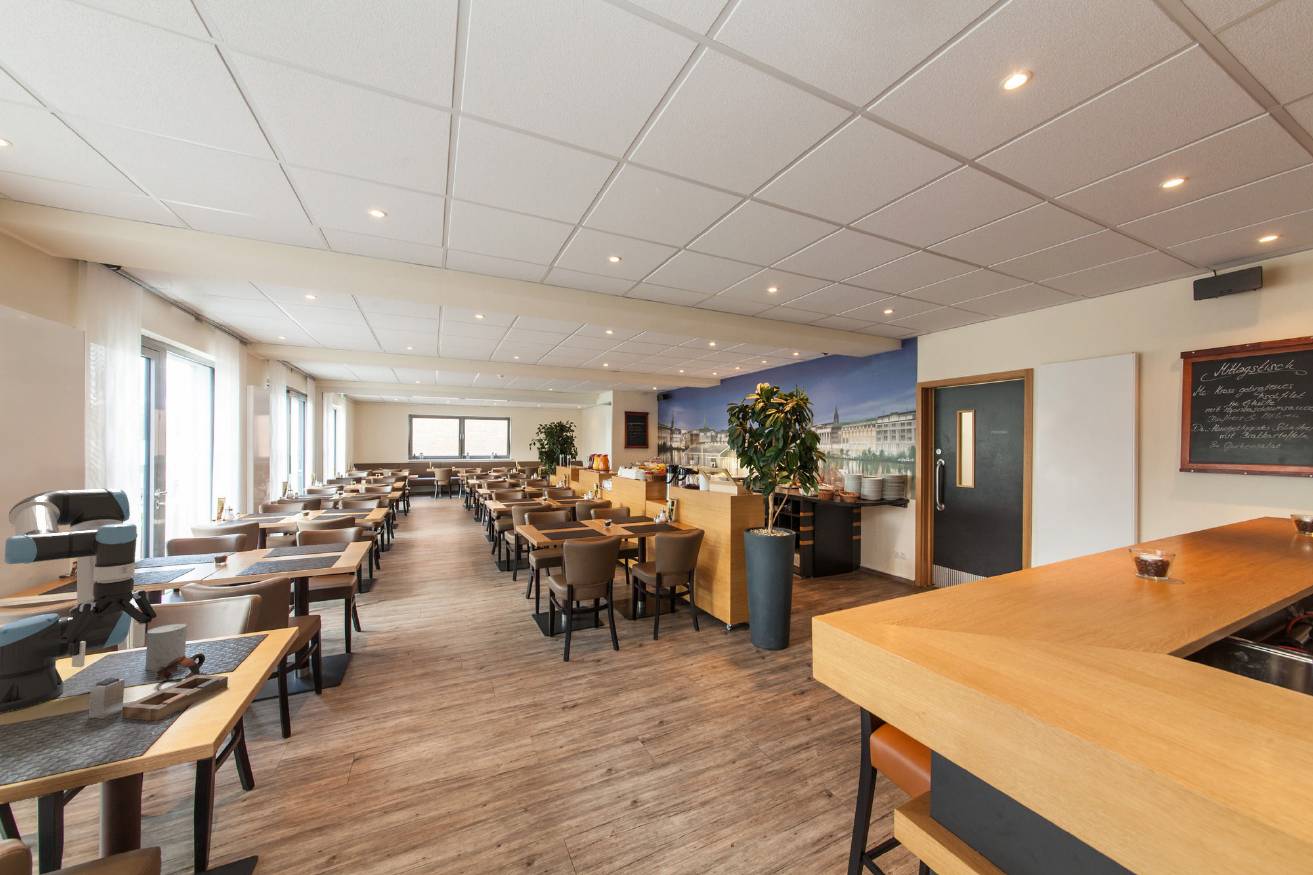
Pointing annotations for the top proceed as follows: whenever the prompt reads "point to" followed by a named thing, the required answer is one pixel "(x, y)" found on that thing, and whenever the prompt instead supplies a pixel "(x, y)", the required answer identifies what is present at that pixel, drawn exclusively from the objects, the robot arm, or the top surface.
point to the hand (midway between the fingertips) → (109, 655)
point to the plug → (106, 698)
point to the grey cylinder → (165, 645)
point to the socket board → (174, 697)
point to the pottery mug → (184, 662)
